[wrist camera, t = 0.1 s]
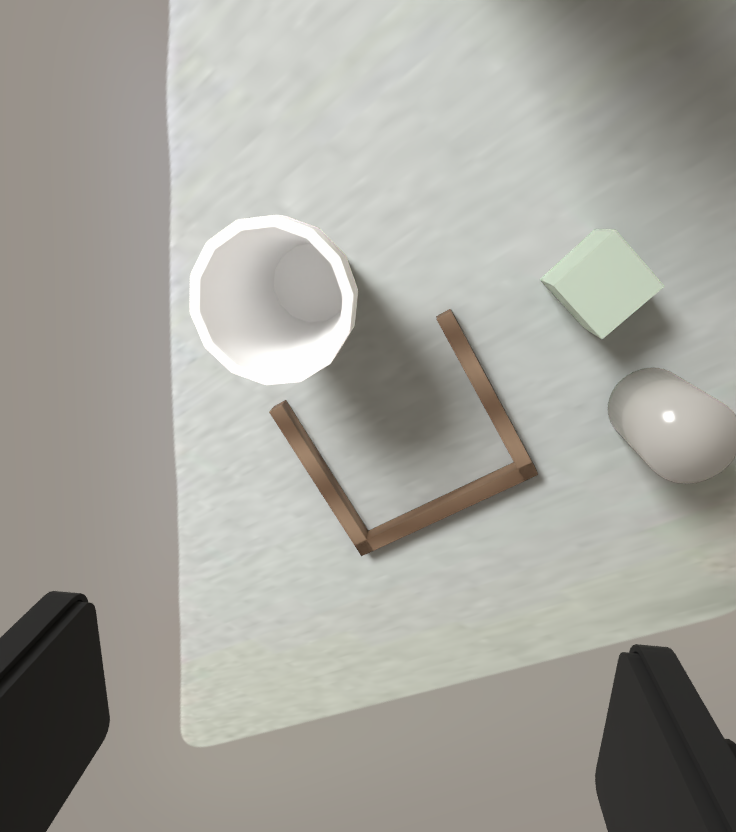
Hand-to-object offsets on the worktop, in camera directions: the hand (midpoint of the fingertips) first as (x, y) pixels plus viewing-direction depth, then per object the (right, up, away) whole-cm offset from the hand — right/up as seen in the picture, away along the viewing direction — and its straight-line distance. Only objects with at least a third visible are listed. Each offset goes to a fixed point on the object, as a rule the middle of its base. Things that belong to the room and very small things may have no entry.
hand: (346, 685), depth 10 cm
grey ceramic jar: (+22, +6, +35) cm, 42 cm away
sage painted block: (+17, +15, +33) cm, 40 cm away
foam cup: (-4, +15, +35) cm, 38 cm away
